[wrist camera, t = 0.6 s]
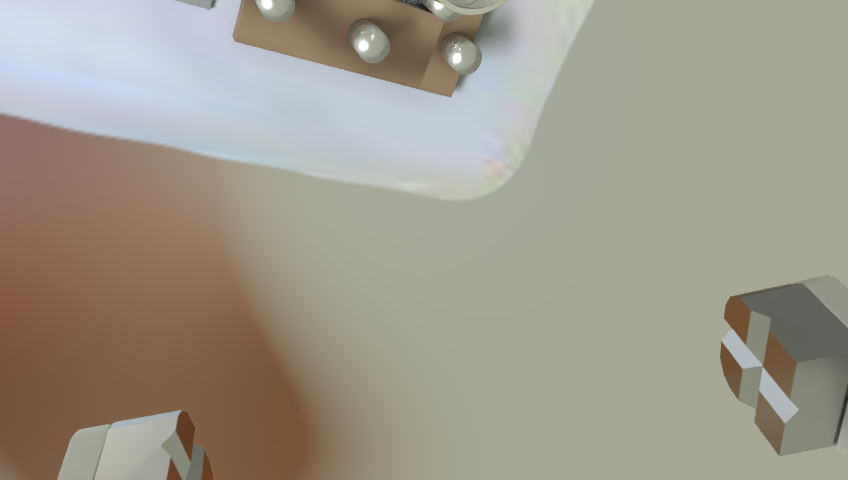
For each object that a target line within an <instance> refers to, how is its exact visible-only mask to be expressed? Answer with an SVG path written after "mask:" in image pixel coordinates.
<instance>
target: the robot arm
mask: <svg viewBox="0 0 848 480" xmlns="http://www.w3.org/2000/svg"><path fill="white" fill-rule="evenodd" d="M724 319H725V320H726V321H727V322H728V324H729V325H730V326H731V330H730V331H729V332H728V333H727V334H726V336H725V337H724V338H723V339H722V340H721V353H720V359H721V364H722V368H723V373H724V376H725V378H726V380H727V382H728V385H729V387H730V389H731V390H732V391H733V393H734V394H735V396H736V397H737V399H738V400H739V401H741V402H743V403H745V404H747V405H749V406H751V407H753V408H755V409H756V415H755V424H756V425H757V426H758V428H759V429H760V431H761V432H762V433H763V434H764V436H765V437H766V439H767V440H768V441H769V443H770V444H771V445H772V447H773V448H774V450H775V451H776V452H777V454H778V455H779V456H783V455H788V454H793V453H798V452H803V451H808V450H814V449H819V448H824V447H830V446H835V445H837V446H836V448H837V449H838V450H840V451H842V452H843V453H845V454H847V455H848V289H847V288H846V287H845V286H844V285H843V284H842V283H841V282H840V281H839V280H838V279H836V278H834V277H831V276H828V275H825V276H820V277H816V278H811V279H807V280H803V281H798V282H795V283H793V284H787V285H782V286H777V287H773V288H768V289H763V290H759V291H754V292H749V293H745V294H740V295H735V296H731V297H730V298H729V300H728V301H727V303H726V306H725V313H724ZM194 435H195V426H194V424H193V422H192V420H191V418H190V416H189V414H188V412H186V411H183V410H180V411H175V412H169V413H163V414H158V415H152V416H147V417H142V418H136V419H131V420H125V421H120V422H114V423H113V424H108V425H102V426H96V427H91V428H85V429H80V430H78V431H77V433H75V434H74V435H73V437H72V438H71V441H70V443H69V446H68V449H67V453H66V455H65V458H64V461H63V464H62V467H61V470H60V473H59V476H58V479H57V480H214V477H213V472H212V468H211V464H210V461H209V458H208V456H207V453H206V451H205V449H203V448H202V447H200V446H198V445H196V444H194Z"/></svg>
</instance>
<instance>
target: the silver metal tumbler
mask: <svg viewBox="0 0 848 480" xmlns="http://www.w3.org/2000/svg"><path fill="white" fill-rule="evenodd" d="M434 1H436V2H438V3H440V4H442V5H443V6H445V7H446V8H448V9H449V10H451V11H454V12H456V13H459V14H464V15H478V14H483V13H487V12H490V11H492V10H494V9H496V8H498V7H500V6H501V5H502V4H504V3H505V2H506V1H508V0H434Z"/></svg>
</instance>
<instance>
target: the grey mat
mask: <svg viewBox="0 0 848 480" xmlns="http://www.w3.org/2000/svg"><path fill="white" fill-rule="evenodd" d="M177 1H180V2H184V3H187V4H191V5H195V6H198V7H202V8H206V9H209V10H210V8H211V4H212V0H177Z"/></svg>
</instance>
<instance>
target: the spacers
mask: <svg viewBox="0 0 848 480" xmlns="http://www.w3.org/2000/svg"><path fill="white" fill-rule="evenodd" d="M419 1H420V2H421V3H422V4H423V5H424V6H425V7H426V8H428V9H429V10H430V11H431V12H432V13H434V14H435V15H436V16H437V17H438V18H439V19H441V20H443V21H446V22H450V21H454V20H456V19H457V18H458V17H460V15H461V14H459V13H456V12H454V11H451V10H449V9H448V8H446V7H445V6H443V5H442V4H440V3H438V2H436V1H434V0H419ZM255 2H256V4H257V6H258V8H259V9H260V11H261V13H262V15H263V16H264V17H265V18H266V19H268V20H269V21H272V22H283V21H285V20H287V19H289V18H290V17H291V15H292V14H293V12H294V9H295V0H255ZM348 40H349V43H350V44H351V45H352V47H353V48H354V49H355V50H356V52H357V53H358V54H359V56H360V57H361V58H362V59H363V60H364V61H366V62H368V63H378V62H380V61H382V60H383V59H384V58H385V57H386V56H387V55H388V53H389V50H390V42H389V39H388V37H387V36H386V35H385V34H384V33H383V32H382V31H381V30H380V28H379V27H378V26H377V25H376V24H375V23H374V22H373V21H371V20H369V19H365V18H363V19H358V20H356V21H355V22H353V23H352V24H351V26H350V28H349V30H348ZM439 53H440V55H441V57H442V58H443V59H444V60H445V61H446V62H447V63H448V64H449V65H450V66H451V67H452V68H453V69H454V70H455V71H456V72H458V73H459V74H462V75H468V74H471V73H473V72H474V71H476V70H477V69H478V67H479V66H480V64H481V60H482V54H481V51H480V49H479V48H478V47H477V46H475V45H474V44H473V43H472V42H471V41H469V40H468V39H467V38H466V37H465V36H463V35H462V34H461V33H458V32H452V33H449V34H447V35H446V36H445V37H444V38H443V39H442V40H441V42H440V45H439Z"/></svg>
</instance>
